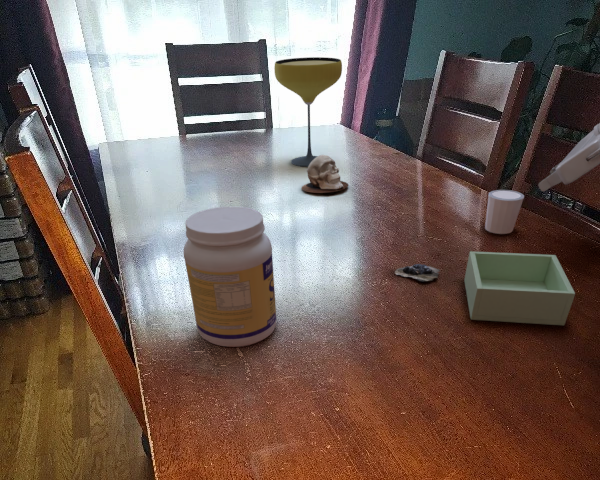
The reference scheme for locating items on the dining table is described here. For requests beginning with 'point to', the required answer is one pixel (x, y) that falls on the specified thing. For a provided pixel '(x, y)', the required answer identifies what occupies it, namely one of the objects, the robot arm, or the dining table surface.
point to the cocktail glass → (308, 85)
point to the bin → (517, 288)
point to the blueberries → (418, 272)
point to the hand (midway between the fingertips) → (546, 180)
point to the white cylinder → (502, 210)
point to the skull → (323, 176)
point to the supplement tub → (230, 275)
